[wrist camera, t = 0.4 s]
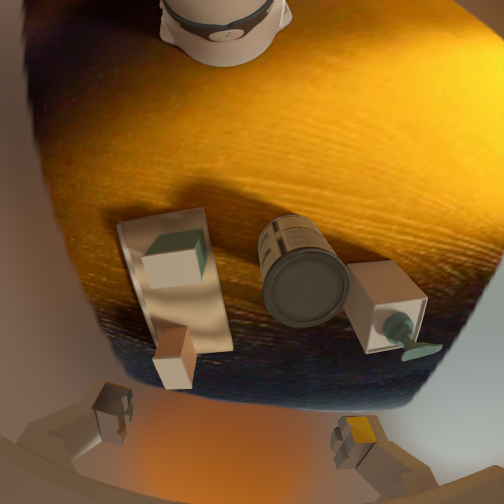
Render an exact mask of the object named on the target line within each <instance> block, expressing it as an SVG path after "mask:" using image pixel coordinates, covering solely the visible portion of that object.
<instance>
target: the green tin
mask: <svg viewBox="0 0 504 504" xmlns="http://www.w3.org/2000/svg"><path fill="white" fill-rule="evenodd" d="M141 258H142V262H143V265H144V268H145V272H146V275H147V278H148V282H149V285H150V288H151V289H156V288H165V287H173V286H182V285H190V284H199V283H202V281H203V280H202V277H203V273H204V270H205V266H206V262H207V258H208V253H207V248H206V243H205V238H204V233H203V228H201V229H195V230H188V231H182V232H175V233H169V234H163V235H159V236H158V237H157V238H156V240H155V241H154V242H153V244H152V245H151V246H150V248H149V249H148V250H147V252H146V253H145V254H144V255H142V257H141Z"/></svg>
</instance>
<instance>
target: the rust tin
mask: <svg viewBox="0 0 504 504" xmlns="http://www.w3.org/2000/svg"><path fill="white" fill-rule="evenodd" d="M196 358H197V354H196V351H195V348H194V345H193V341H192V338H191V335H190V332H189V329H188V326H185V327H173V328H164V330H163V333H162V335H161V338H160V341H159V344H158V347H157V350H156V353H155V356H154V357H153V359H152V360H153V362H154V365H155V367H156V369H157V371H158V373H159V376H160V378H161V380H162V382H163V384H164V386H165V388H166V389H191V388H192V380H193V375H194V369H195V363H196Z"/></svg>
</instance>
